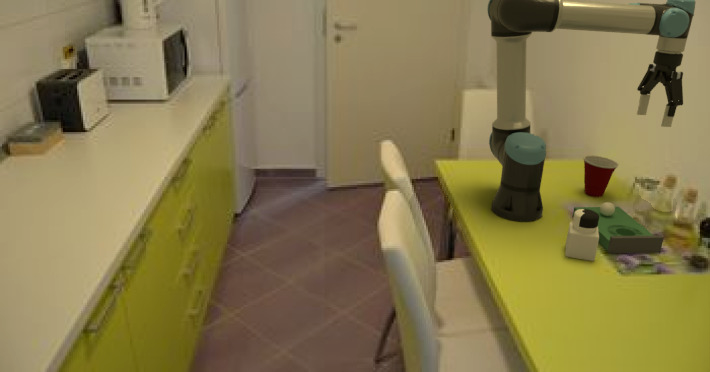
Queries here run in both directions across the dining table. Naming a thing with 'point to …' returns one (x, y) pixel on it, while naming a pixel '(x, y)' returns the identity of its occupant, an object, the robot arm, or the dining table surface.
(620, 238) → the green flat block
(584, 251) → the medicine bottle
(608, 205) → the ball
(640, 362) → the dining table surface
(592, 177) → the plastic cup
